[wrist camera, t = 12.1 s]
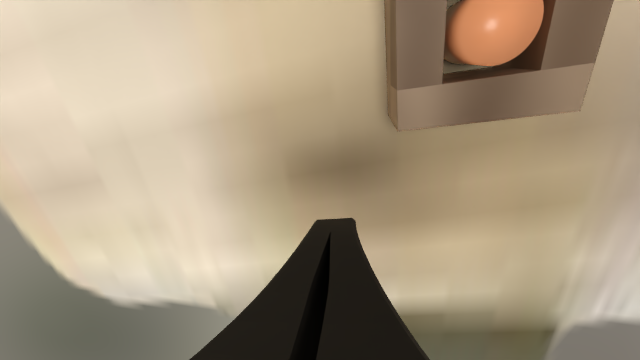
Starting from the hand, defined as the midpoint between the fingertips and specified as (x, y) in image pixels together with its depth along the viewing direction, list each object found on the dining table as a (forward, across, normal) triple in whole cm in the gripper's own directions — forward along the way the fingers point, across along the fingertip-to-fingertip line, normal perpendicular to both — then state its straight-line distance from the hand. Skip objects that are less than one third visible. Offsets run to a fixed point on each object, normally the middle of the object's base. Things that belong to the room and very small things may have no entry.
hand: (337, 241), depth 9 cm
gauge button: (+9, -7, -6) cm, 13 cm away
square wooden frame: (+10, -7, -6) cm, 14 cm away
